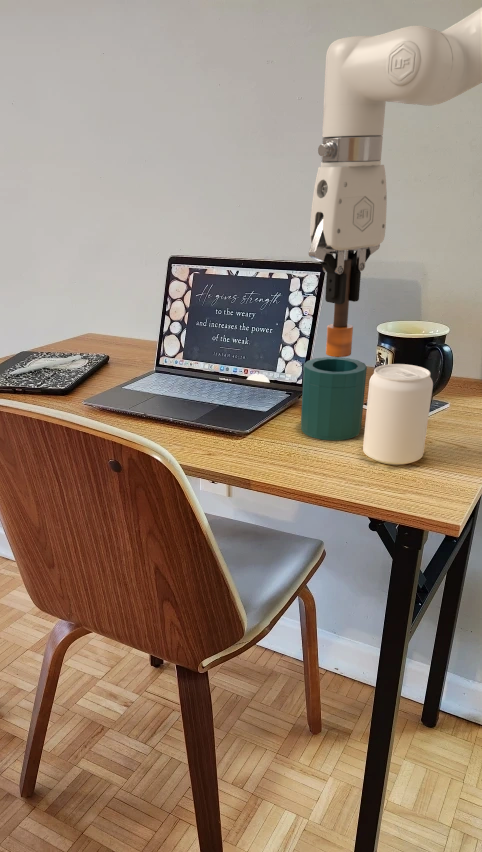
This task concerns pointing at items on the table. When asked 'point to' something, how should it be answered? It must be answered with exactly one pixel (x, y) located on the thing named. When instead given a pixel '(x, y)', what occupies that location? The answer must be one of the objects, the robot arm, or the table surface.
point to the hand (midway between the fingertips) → (341, 300)
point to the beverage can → (397, 413)
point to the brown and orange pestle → (341, 323)
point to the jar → (333, 398)
